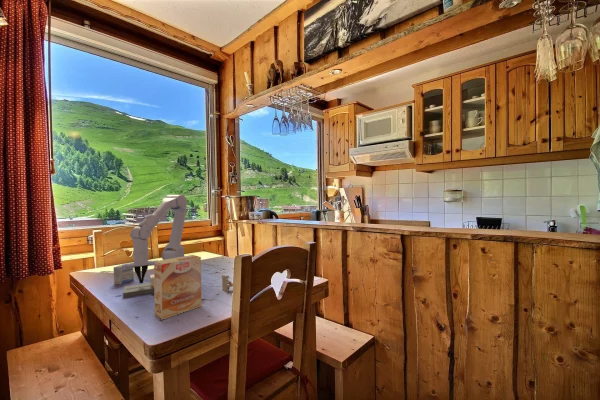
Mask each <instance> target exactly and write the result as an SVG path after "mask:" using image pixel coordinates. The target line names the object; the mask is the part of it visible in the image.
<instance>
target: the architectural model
mask: <svg viewBox="0 0 600 400" xmlns="http://www.w3.org/2000/svg"><path fill="white" fill-rule="evenodd" d="M221 278H222V279H221V288H222V289H221V290H222V291H223V292H224V293H226V294H228V293H229V289H230V288H232V287H234V286H233V284H234V283H233V282H232V281H231V280H229V275H224V274H221Z"/></svg>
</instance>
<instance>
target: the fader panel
mask: <svg viewBox="0 0 600 400" xmlns="http://www.w3.org/2000/svg"><path fill="white" fill-rule="evenodd" d="M149 294H154V286H151V285H150V282H146V283H139V284H132V285H127V286H126V285H125V286H124V288H123V292H122V297H123V298H130V297H136V296H143V295H149Z"/></svg>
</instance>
